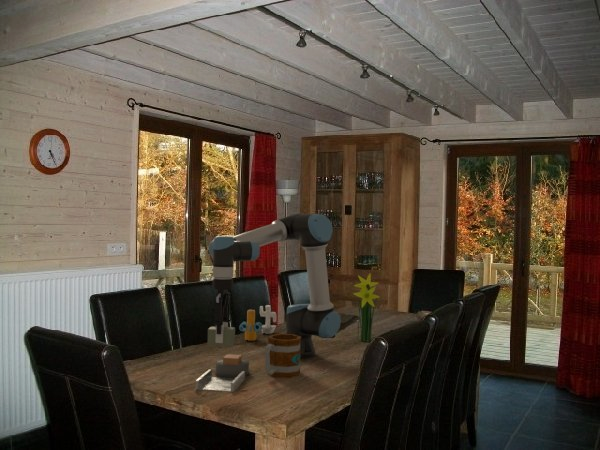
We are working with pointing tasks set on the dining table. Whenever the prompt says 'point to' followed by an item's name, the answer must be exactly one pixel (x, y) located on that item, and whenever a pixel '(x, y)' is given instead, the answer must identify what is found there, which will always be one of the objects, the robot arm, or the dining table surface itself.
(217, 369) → the grey block tan top
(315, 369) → the dining table surface
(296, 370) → the mug
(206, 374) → the bracket
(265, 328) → the figurine
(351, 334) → the dining table surface
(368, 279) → the daffodil flowers
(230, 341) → the olive green block
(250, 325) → the orange knobbed block
